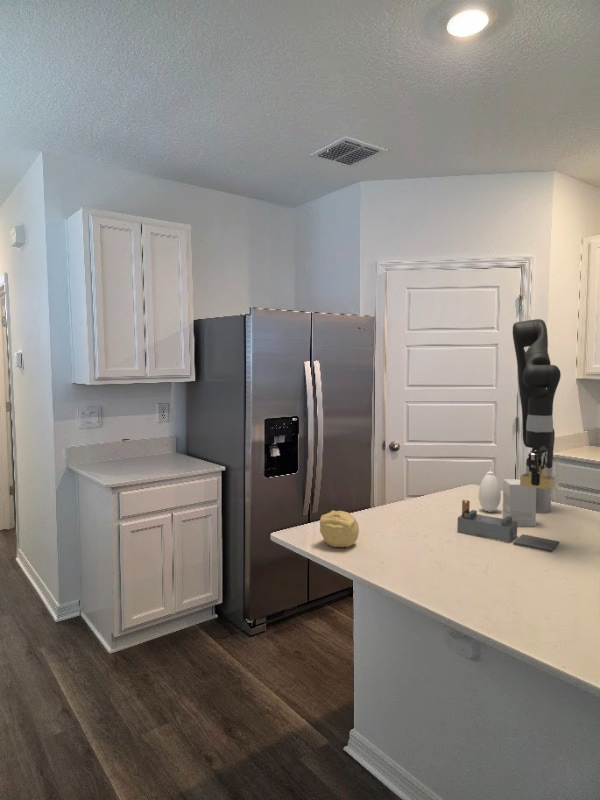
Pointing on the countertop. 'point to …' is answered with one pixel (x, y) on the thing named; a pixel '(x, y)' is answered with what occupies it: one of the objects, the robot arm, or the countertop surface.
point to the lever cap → (544, 480)
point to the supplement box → (519, 502)
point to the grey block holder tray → (486, 525)
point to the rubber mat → (536, 543)
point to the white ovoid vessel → (489, 492)
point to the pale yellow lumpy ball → (339, 529)
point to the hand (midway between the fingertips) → (537, 483)
